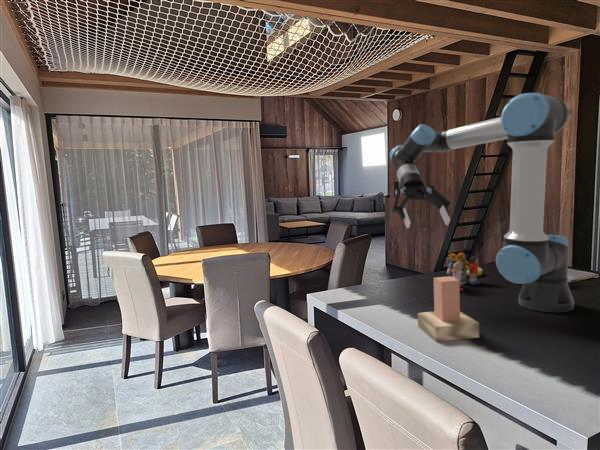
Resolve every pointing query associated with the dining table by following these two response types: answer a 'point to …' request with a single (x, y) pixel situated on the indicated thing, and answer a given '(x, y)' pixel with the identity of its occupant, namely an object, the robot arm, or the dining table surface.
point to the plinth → (448, 327)
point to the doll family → (463, 268)
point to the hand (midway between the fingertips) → (428, 224)
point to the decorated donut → (476, 274)
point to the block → (446, 298)
